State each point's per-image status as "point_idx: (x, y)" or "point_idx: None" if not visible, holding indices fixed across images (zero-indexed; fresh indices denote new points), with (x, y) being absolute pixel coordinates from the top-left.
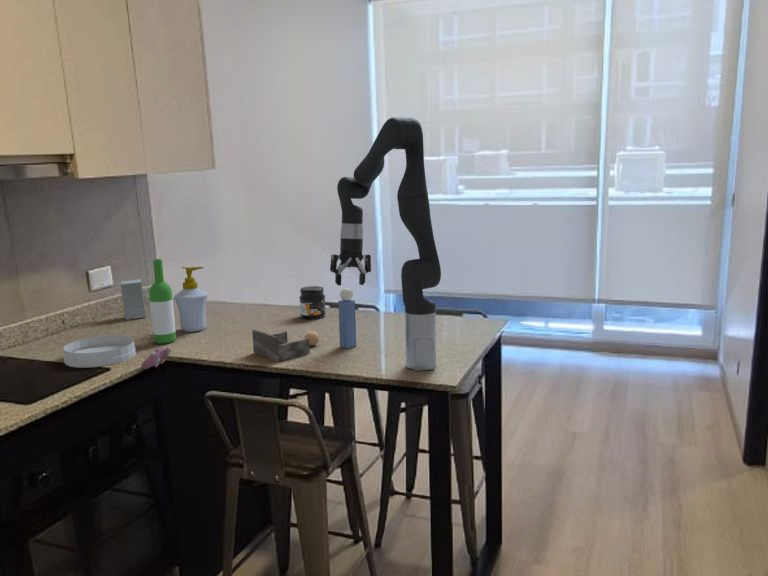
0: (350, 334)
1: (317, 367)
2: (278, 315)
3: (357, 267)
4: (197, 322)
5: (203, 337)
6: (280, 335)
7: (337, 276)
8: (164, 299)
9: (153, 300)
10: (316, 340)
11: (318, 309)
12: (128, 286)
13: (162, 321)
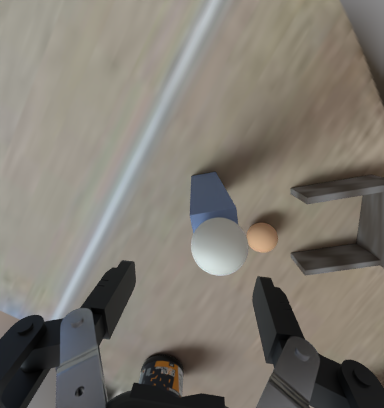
0: (207, 180)
1: (343, 83)
2: (204, 392)
3: (106, 394)
4: None
5: (354, 355)
6: (319, 265)
7: (297, 328)
8: None
9: None
10: (259, 224)
11: (158, 371)
12: None
13: None
